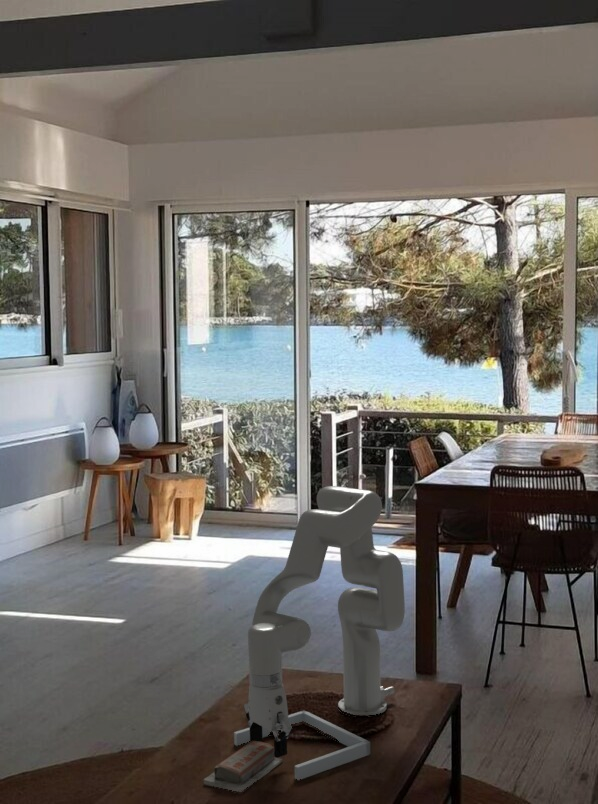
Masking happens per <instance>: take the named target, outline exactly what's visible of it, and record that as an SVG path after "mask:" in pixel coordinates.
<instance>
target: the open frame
mask: <svg viewBox="0 0 598 804" xmlns="http://www.w3.org/2000/svg"><path fill="white" fill-rule="evenodd" d="M288 721H289V722H290V724H295V723H299V722H302V721H304V722H306V723H308V724H310V725H312V726H314V727H316V728H318V729H319V730H321V731H323V732H324V733H327V734H329V735H331V736H333V737H335V738H336V739H337V740H338V741H339V742H338V741H337V742H338V743H340V744H342V745H344V746H346V747H343V748H342V749H338V750H336V751H333V752H330V753H327V754H325V755H322V756H319V757H316V758H312V759H310V760H308V761H307V760H306V761H305V762H302V763H299V764H296V765H294V779H295V780H296V779H297V780H296V781H301V780H303V779H306V778H309V777H311V776H314V775H317V774H319V773H322V772H323V773H324V772H325V771H327V770H331V769H333V768H336V767H339V766H342V765H345V764H347V763H351V762H354V761H356V760H358V759H361V758H364V757H366V756H369V755H371V741H369V740H367V739H365V738H363V737H361V736H359V735H358V734H357V735H356V734H355V733H352V732H351V731H348V730H346V729H344V728H343V727H339V726H338V725H336V724H334V723H333V722H329V721H327V720H325V719H323V718H322V717H319V716H317V715H315V714H313V713H312V712H309V711H306V710H301V711H298V712H295V713H291V714H288ZM277 726H279V724H277V725H276V726H275V727H277ZM270 732H271V731H270V730H268V729H266V728H264V727H262V737H263V738H266V737H269V736H270V735H269V734H270ZM268 735H269V736H268ZM249 741H250V727H246V728H244V729H239V730H237V731H234V732H233V742H234V743H233V744H234V745H235V746H236V747H239V746H242V745H244V744H243V743H245V744H248V743H250V742H249ZM247 742H248V743H247ZM241 744H242V745H241ZM238 745H239V746H238ZM300 779H301V780H300Z"/></svg>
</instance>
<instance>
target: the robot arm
mask: <svg viewBox="0 0 598 804" xmlns="http://www.w3.org/2000/svg"><path fill="white" fill-rule="evenodd" d="M316 504H317V507H318V508H316V509H308V510H306V511H304V512H303V513H302V514H301V515H300V517H299V519H298V523H297V526H296V529H295V532H294V536H293V539H292V543H291V546H290V549H289V554H288V556H287V561H286V564H285V566H284V568H283V570H282V571H280V572H279V573H278V574H277V575H276V576H275V577H273V579H272V580H271V581H270V582H269V583H268V584H267V585H266V586H265V588H264V590H262V592H261V594H260V596H259V597H258V601H257V603H256V606H255V610H254V615H253V617H252V623H251V626H250V627H249V629H248V632H247V642H248V644H247V645H248V669H249V671H248V672H249V673H248V674H249V684H248V685H249V688H248V702H247V703H244V705H243V707H244V710H245V717H246V718H247V721H248V722H247V726H248V728H250V742H251V741H259V742H263V739H264V737H262V727H264V728H266V729H268V730H270V731H272V732H273V736H274V739H275V740H273V747H274V757H276V758H281V757H283V756H286V755H287V754H288V739H289V737H290V735H291V730H292V729H293V728H292V726H291V724H290V722H289V721H288V715H289V710H288V701H287V694H286V690H285V687H284V684H283V664H282V663H283V661H282V655H283V653H289V652H292V651H299V650H300V649H302V648H304V647H305V646H306V645H307V644H308V643H309V640H310V638H311V634H312V632H311V627H310V624H308V622H307V621H305V620H304V619H302V618H299V617H296V616H292V615H288V614H287V615H286V614H283V613H282V614H281V613H277V612H278V610H279V606H280V605H281V603H282V601H283V599H284V598H285V597H286V596H287V595H288V594H289V593H291V592H292V591H294V590H296V589H298V588H301V587H303V586H306V585H309V584H312V583H314V582H317V581H318V579H320V576H321V573H322V568H323V566H324V562H325V558H326V555H327V552H328V551H327V550H328V549H329V547H331V548H338V549H339V553H340V566H341V573H342V578H343V579H344V581H345V582H347V583H348V584H349V583H350V584H352V585H356V587H350V588H347V589H345V590H344V591H342V593H341V594H340V595H339V597H338V600H337V601H338V602H337V613H338V617H339V622H340V626H341V627H340V628H341V635H342V665H343V666H342V672H343V676H342V677H343V698H342V699H340V700H339V701H338V703H337V708H338V707H339V708H340V709H341V710H342V711H344V712H347V713H350V714H353V715H375V716H377V715H376V714H378V715H380V713H381V714H382V713H384V712H386V710H387V709H388V704H387V703H388V702H387V700H385V698H386V697H387V696H391V695H393V694H395V688H394V686H388V687H386V688H385V687H384V686H383V685H381V653H380V652H381V643H380V637H379V634H378V632H377V631H378V630H379V631H382V632H395V631H398V629H400V628H401V626H402V624H403V622H404V619H405V612H406V611H405V610H406V609H405V608H406V607H405V605H406V604H405V590H404V589H405V588H404V586H405V585H404V571H403V565H402V562H401V560H400V558H399V557H398V556H397V555H396V554H394V553H392V552H390V551H385V550H378V549H376V548H375V545H374V538H373V528H372V527H373V526H374V525H375V524H376V523H377V521H378V520H379V518H380V516H381V515H382V514H381V513H382V510H383V503H382V499H381V497H380V496H379V495H378V493H377V492H374V491H372V490H369V489H362V488H353V487H346V486H336V485H329V486H324V487H322V488H320V489H319V491H317V495H316ZM358 586H361V587H358ZM365 587H366V588H365ZM277 724H279V726H277V727H275V726H276V725H277ZM277 730H281V732H279V733H278V732H277ZM250 742H249V743H250Z"/></svg>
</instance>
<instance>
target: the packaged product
mask: <svg viewBox="0 0 598 804" xmlns="http://www.w3.org/2000/svg"><path fill="white" fill-rule="evenodd" d="M281 763H283V758H281V757H278V758H276V757H275V755H274V745H272V744H271V743H269V742H268V743H267V742H263V741H261V742H259V741H251V742H248V743H246V744H244V746H242V747H241V748H240V749H238V750H236V751H235V752H233V753H232V754H231V755H230V756H228V757H227V758H225V759H223V760H222V761H221V762H219V763H218V764H216V765H215V766H214V769H213V771H214V772H213V771H212V773H211V774H210V775H208V776H206V777H205V778H203V784H204V785H205V786H210V787H213V786H214V787H213V788H216V787H219V788H218V789H220V788H223V789H222V790H224V789H228V790H227V791H229V790H232V791H231V792H233V791H237V792H238V791H239V792H242V791H243V790H244V789H246V788H247V787H248V788H249V787H251V786H252V785H253V783H254V782H255V783H256V782H257V780H258V781H259V780H261V779H262V778H263V777H265V776H266V775H267V774H269V773H270V772H271V771H272V770H274V769H275V768H276V767H277V766H279V765H280V764H281ZM255 783H254V784H255ZM248 788H247V789H248ZM247 789H246V790H247ZM243 792H244V791H243ZM243 792H242V793H243Z"/></svg>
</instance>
